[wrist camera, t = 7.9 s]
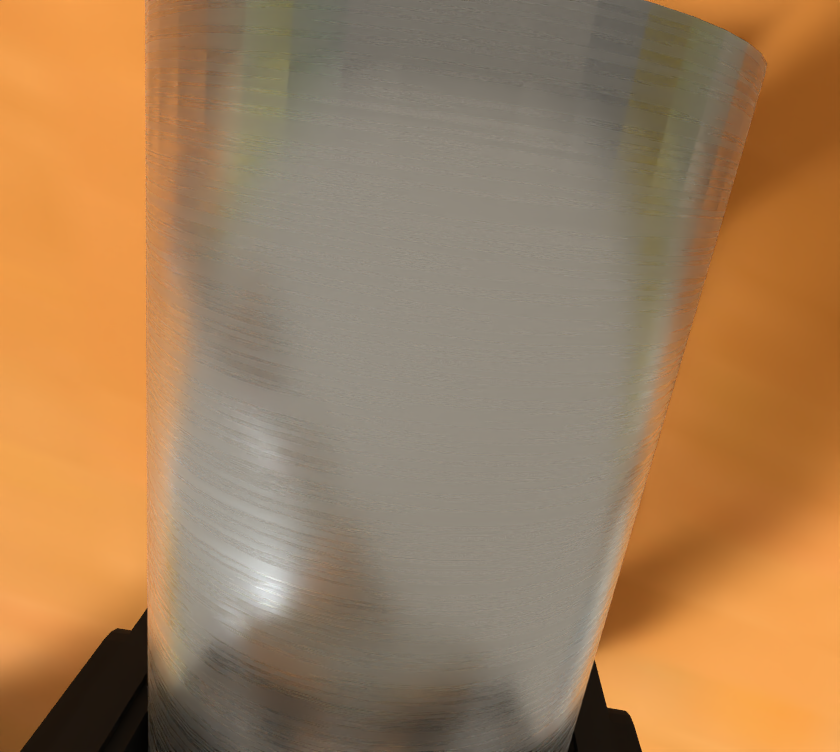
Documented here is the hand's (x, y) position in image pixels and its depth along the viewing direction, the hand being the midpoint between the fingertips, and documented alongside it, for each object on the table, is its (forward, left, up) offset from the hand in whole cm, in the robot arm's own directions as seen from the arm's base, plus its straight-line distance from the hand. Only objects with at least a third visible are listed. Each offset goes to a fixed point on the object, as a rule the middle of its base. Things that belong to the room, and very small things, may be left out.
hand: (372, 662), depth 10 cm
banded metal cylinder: (0, 0, +2) cm, 2 cm away
